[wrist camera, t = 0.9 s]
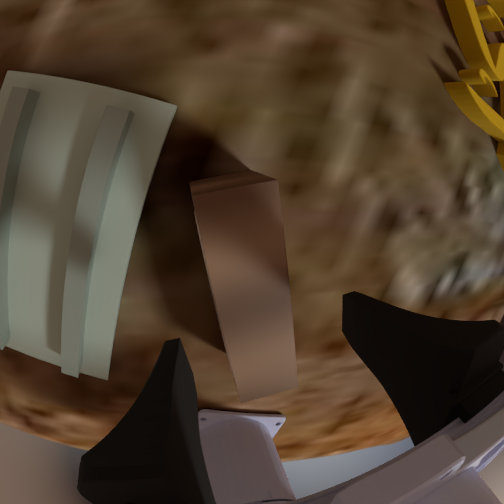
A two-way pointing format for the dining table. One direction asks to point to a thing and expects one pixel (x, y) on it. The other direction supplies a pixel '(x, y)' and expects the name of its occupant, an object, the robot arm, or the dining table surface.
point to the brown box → (248, 278)
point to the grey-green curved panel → (71, 212)
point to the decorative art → (479, 65)
